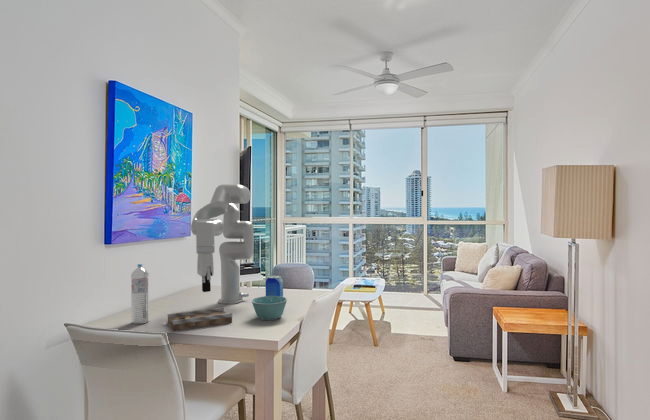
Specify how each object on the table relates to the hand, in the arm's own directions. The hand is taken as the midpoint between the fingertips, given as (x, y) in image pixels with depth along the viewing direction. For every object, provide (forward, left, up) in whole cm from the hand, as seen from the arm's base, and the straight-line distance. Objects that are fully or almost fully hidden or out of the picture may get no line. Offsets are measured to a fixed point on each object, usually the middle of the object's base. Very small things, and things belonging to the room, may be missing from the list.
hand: (206, 291), depth 182 cm
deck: (+3, +2, -13) cm, 13 cm away
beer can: (-34, -4, -13) cm, 37 cm away
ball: (+8, +2, -11) cm, 14 cm away
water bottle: (+25, -12, -13) cm, 31 cm away
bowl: (-26, +9, -13) cm, 30 cm away
